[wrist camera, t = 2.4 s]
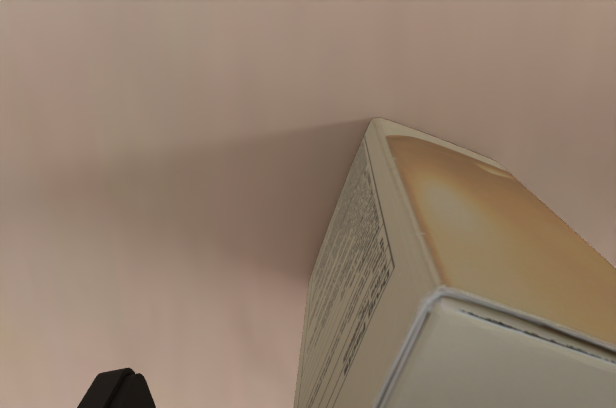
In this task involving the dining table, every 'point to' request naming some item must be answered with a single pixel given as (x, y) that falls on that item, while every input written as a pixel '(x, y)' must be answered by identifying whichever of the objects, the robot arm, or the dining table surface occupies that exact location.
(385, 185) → the skincare box
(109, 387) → the robot arm
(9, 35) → the dining table surface
